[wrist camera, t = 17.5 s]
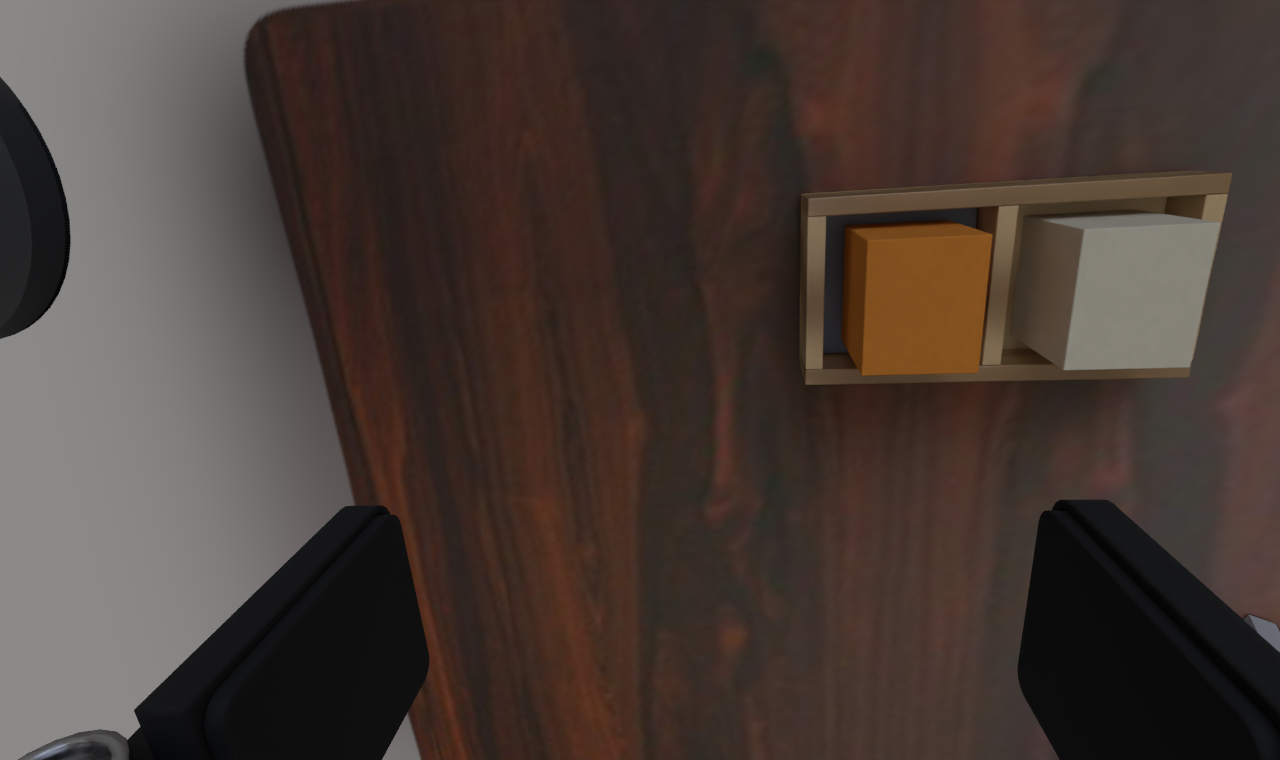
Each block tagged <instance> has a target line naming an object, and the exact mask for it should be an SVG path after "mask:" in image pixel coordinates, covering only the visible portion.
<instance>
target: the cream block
mask: <svg viewBox="0 0 1280 760" xmlns="http://www.w3.org/2000/svg"><path fill="white" fill-rule="evenodd" d="M1219 227H1220V222H1214V221H1208V220H1201V219H1194V218H1188V217H1181V216H1174V215H1168V214H1161V213H1155V212H1148V211H1141V210H1135V209H1134V210H1115V211H1097V212H1078V213H1060V214H1041V215H1025V216H1024V221H1023V229H1022V238H1021V246H1020V255H1019V263H1018V272H1017V280H1016V289H1015V297H1014V306H1013V315H1012V323H1011V332H1010V335H1012V336H1013V337H1015V338H1016V339H1018V340H1019V341H1021V342H1022V343H1024V344H1025V345H1027V346H1028V347H1030V348H1031V349H1033V350H1034V351H1036V352H1037V353H1039V354H1040V355H1042V356H1043V357H1045V358H1046V359H1048V360H1049V361H1051V362H1052V363H1054V364H1055V365H1057V366H1058V367H1060V368H1061V369H1063V370H1104V369H1151V368H1189V367H1190V364H1191V360H1192V355H1193V350H1194V346H1195V341H1196V336H1197V331H1198V327H1199V322H1200V317H1201V312H1202V308H1203V303H1204V298H1205V294H1206V289H1207V284H1208V279H1209V275H1210V270H1211V265H1212V260H1213V256H1214V251H1215V246H1216V242H1217V237H1218V232H1219Z"/></svg>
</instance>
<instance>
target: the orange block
mask: <svg viewBox="0 0 1280 760" xmlns="http://www.w3.org/2000/svg"><path fill="white" fill-rule="evenodd" d="M991 246H992V234H990V233H987V232H984V231H981V230H977V229H974V228H971V227H968V226H965V225H962V224H959V223H956V222H953V221H950V220H933V221H914V222H896V223H877V224H858V225H846V226H845V243H844V274H843V306H842V337H841V340H842V342H843V343H844V345H845V347H846V349H847V350H848V352H849V354H850V356H851V357H852V359H853V361H854V363H855V364H856V366H857V368H858V370H859V371H860V373H861V375H862V376H875V375H923V374H970V373H978V372H979V362H980V352H981V343H982V333H983V323H984V314H985V304H986V294H987V284H988V275H989V265H990V255H991Z"/></svg>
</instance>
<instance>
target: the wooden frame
mask: <svg viewBox="0 0 1280 760" xmlns="http://www.w3.org/2000/svg"><path fill="white" fill-rule="evenodd" d="M1231 178H1232V173H1225V172H1204V171H1166V172H1150V173H1133V174H1117V175H1101V176H1084V177H1068V178H1052V179H1035V180H1019V181H1002V182H986V183H970V184H953V185H937V186H920V187H904V188H888V189H871V190H855V191H839V192H822V193H806V194H801V243H800V337H799V366H800V368H801V372H802V375H803V378H804V381H805V384H806V385H832V384H884V383H936V382H988V381H1039V380H1091V379H1143V378H1187V377H1189V374H1190V370H1191V365H1192V361H1191V364H1190V367H1189V368H1151V369H1104V370H1063V369H1061V368H1060V367H1058V366H1057V365H1055V364H1054V363H1052V362H1051V361H1049V360H1048V359H1046V358H1045V357H1043V356H1042V355H1040V354H1039V353H1037V352H1036V351H1034V350H1033V349H1031V348H1030V347H1028V346H1027V345H1025V344H1024V343H1022V342H1021V341H1019V340H1018V339H1016V338H1015V337H1013V336H1012V335H1010V332H1011V323H1012V315H1013V306H1014V297H1015V289H1016V280H1017V272H1018V263H1019V255H1020V246H1021V238H1022V229H1023V221H1024V216H1025V215H1041V214H1060V213H1078V212H1097V211H1115V210H1134V209H1135V210H1141V211H1148V212H1155V213H1161V214H1168V215H1174V216H1181V217H1188V218H1194V219H1201V220H1208V221H1214V222H1220V227H1219V232H1218V237H1217V242H1216V246H1215V251H1214V256H1213V260H1212V265H1211V270H1210V275H1209V279H1208V284H1207V289H1206V294H1205V298H1204V303H1203V308H1202V312H1201V317H1200V322H1199V327H1198V331H1197V336H1196V341H1195V346H1194V350H1193V355H1192V360H1193V356H1194V352H1195V347H1196V342H1197V337H1198V333H1199V328H1200V323H1201V319H1202V314H1203V309H1204V304H1205V300H1206V295H1207V290H1208V286H1209V281H1210V276H1211V271H1212V267H1213V262H1214V257H1215V253H1216V248H1217V243H1218V238H1219V234H1220V229H1221V224H1222V220H1223V215H1224V210H1225V206H1226V201H1227V196H1228V195H1227V193H1228V192H1229V188H1230V183H1231ZM933 220H950V221H953V222H956V223H959V224H962V225H965V226H968V227H971V228H974V229H977V230H981V231H984V232H987V233H990V234H992V246H991V255H990V265H989V275H988V284H987V294H986V304H985V314H984V323H983V333H982V343H981V352H980V362H979V372H978V373H970V374H923V375H875V376H862V375H861V373H860V371H859V370H858V368H857V366H856V364H855V363H854V361H853V359H852V357H851V356H850V354H849V352H848V350H847V349H846V347H845V345H844V343H843V342H842V340H841V337H842V306H843V274H844V243H845V226H846V225H858V224H877V223H896V222H914V221H933Z"/></svg>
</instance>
